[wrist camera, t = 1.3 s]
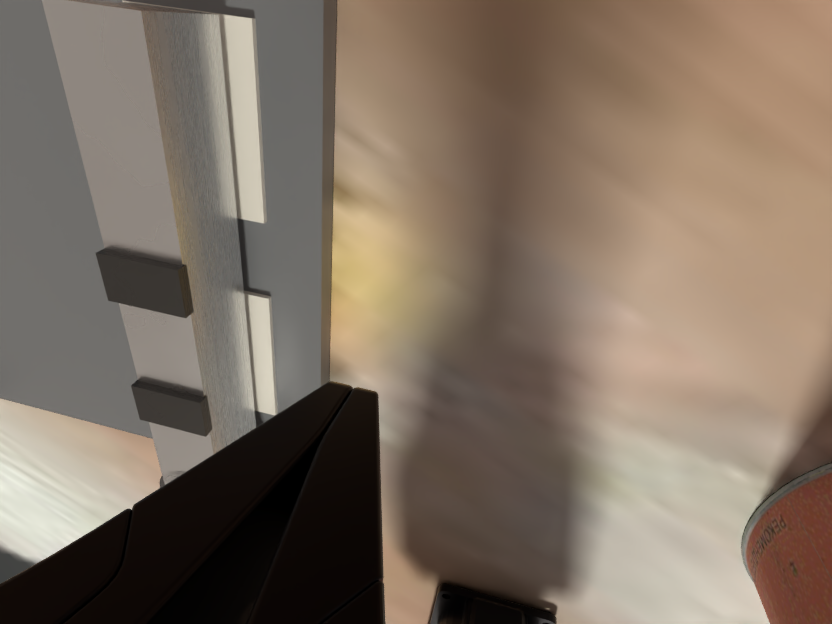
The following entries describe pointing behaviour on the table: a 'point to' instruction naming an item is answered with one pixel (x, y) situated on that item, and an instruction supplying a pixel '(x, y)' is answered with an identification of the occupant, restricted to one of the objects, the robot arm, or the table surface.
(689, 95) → the table surface
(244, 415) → the cable arm
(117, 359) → the equipment panel
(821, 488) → the canned food
